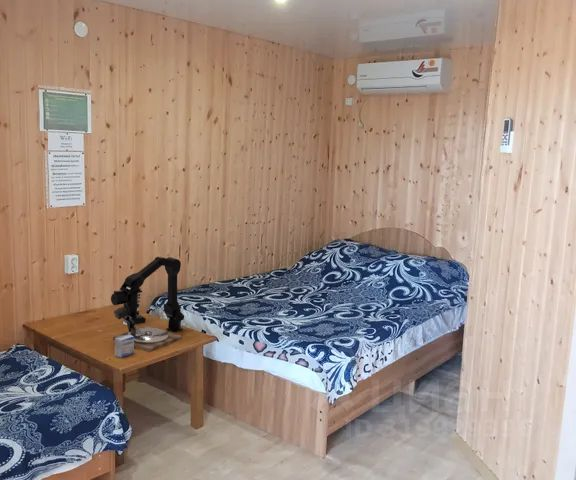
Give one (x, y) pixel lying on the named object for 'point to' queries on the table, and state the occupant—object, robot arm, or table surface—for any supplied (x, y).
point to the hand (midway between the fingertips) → (130, 331)
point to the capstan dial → (148, 335)
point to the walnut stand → (153, 346)
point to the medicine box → (124, 346)
